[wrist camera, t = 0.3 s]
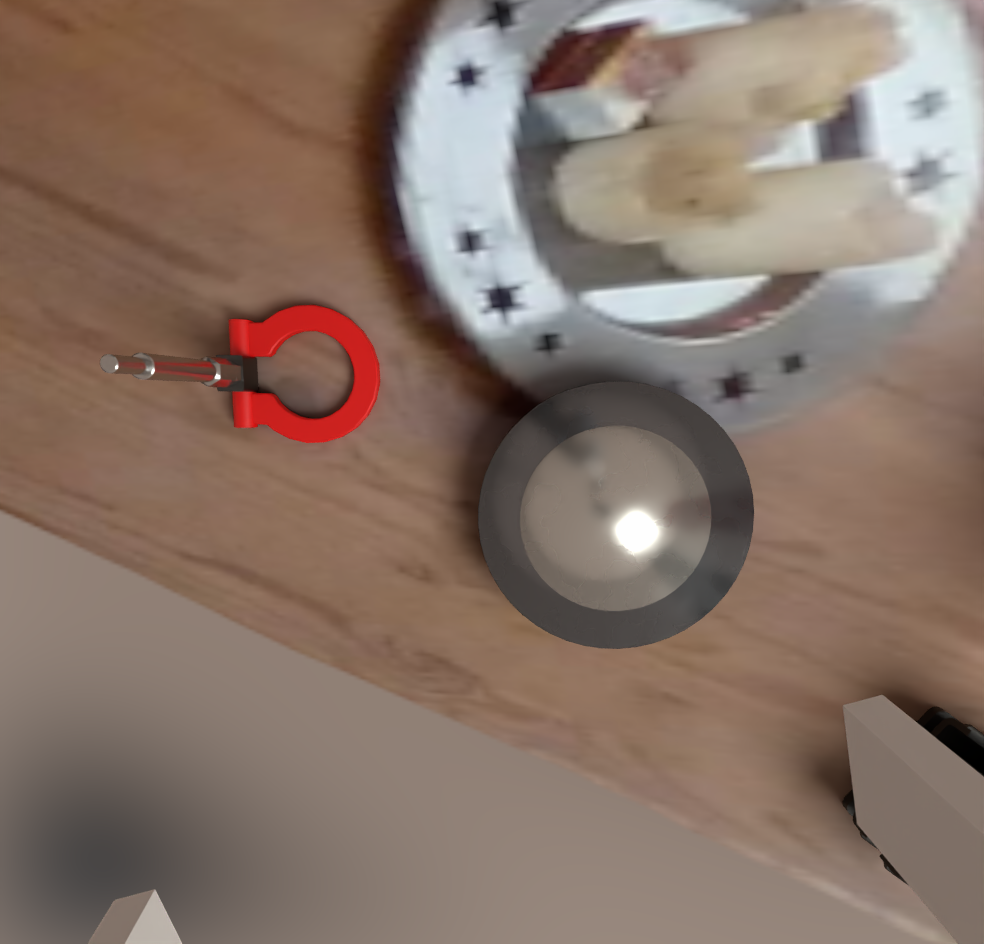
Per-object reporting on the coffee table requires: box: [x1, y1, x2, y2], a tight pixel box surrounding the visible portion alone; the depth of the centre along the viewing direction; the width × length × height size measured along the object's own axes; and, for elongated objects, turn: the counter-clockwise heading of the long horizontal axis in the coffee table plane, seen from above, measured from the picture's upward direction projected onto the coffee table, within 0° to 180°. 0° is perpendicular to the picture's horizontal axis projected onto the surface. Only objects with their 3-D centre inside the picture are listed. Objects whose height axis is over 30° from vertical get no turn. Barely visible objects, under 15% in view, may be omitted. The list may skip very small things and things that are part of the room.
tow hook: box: [100, 305, 380, 443], centre depth 29 cm, size 8×13×9 cm
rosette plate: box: [478, 382, 754, 649], centre depth 33 cm, size 16×16×3 cm
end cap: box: [843, 707, 984, 886], centre depth 33 cm, size 10×7×7 cm
